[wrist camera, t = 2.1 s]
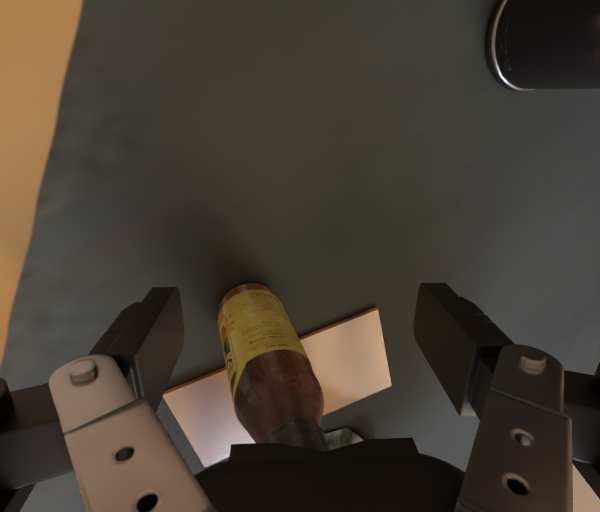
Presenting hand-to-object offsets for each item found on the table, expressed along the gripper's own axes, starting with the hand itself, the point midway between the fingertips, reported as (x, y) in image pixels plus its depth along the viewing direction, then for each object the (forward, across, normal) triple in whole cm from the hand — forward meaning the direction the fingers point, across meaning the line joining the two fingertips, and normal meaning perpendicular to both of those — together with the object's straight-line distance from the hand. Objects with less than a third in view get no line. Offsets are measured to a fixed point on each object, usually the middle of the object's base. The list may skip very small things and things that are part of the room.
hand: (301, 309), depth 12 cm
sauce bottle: (+21, -4, -12) cm, 25 cm away
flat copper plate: (+22, 0, -23) cm, 32 cm away
